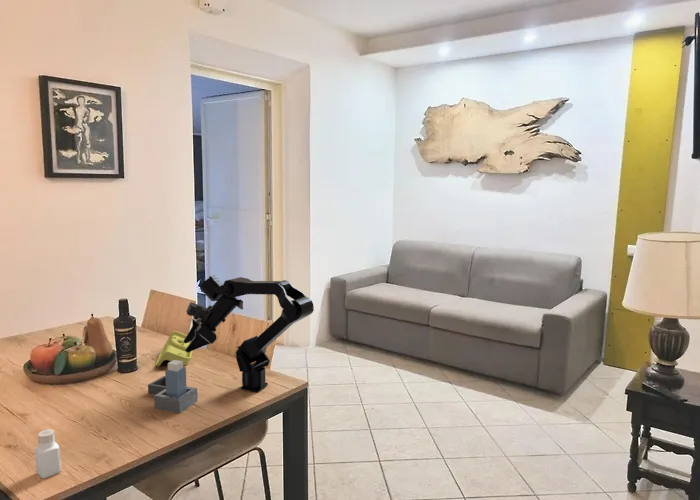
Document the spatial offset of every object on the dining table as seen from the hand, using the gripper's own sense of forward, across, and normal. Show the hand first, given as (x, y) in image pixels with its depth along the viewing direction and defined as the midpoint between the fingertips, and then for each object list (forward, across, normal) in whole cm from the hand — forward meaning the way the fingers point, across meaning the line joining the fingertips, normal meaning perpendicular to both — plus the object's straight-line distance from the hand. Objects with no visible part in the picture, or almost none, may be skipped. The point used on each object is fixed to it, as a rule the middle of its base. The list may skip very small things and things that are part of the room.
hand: (185, 346), depth 158 cm
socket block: (+11, +14, +6) cm, 19 cm away
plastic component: (+10, -27, +8) cm, 30 cm away
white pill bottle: (+31, +40, -13) cm, 53 cm away
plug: (+11, +14, +6) cm, 19 cm away
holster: (+13, +3, +5) cm, 14 cm away
